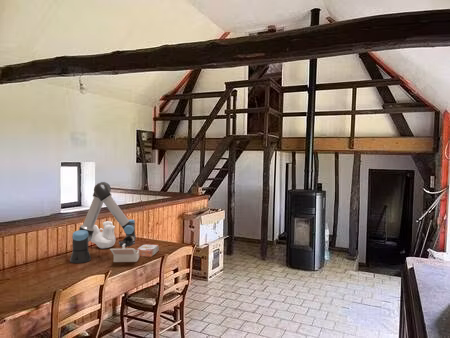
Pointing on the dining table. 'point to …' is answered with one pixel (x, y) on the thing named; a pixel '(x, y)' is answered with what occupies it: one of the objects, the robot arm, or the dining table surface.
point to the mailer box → (127, 257)
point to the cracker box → (148, 250)
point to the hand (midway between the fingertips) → (123, 247)
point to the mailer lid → (123, 251)
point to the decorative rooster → (104, 235)
